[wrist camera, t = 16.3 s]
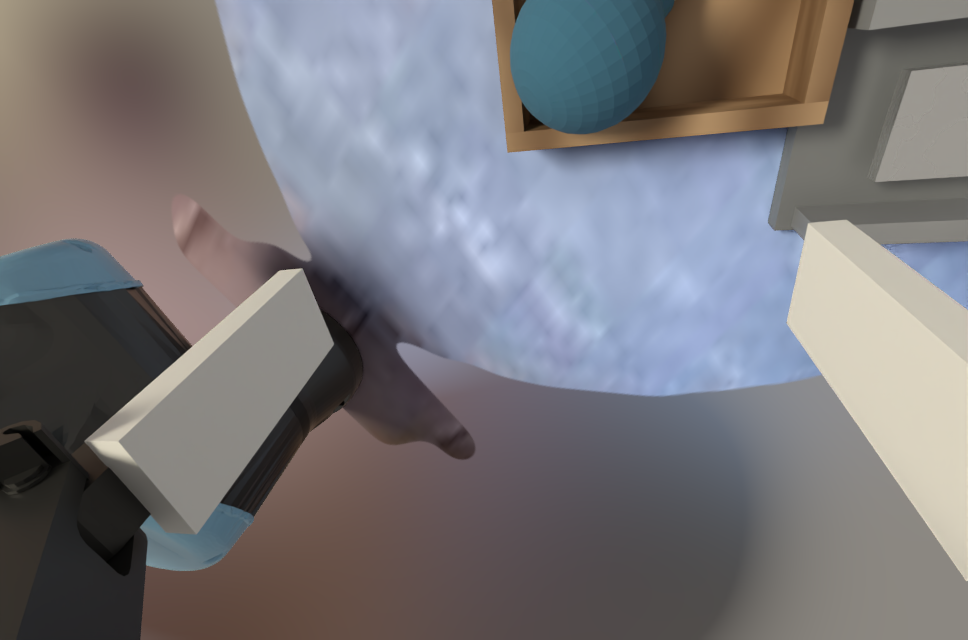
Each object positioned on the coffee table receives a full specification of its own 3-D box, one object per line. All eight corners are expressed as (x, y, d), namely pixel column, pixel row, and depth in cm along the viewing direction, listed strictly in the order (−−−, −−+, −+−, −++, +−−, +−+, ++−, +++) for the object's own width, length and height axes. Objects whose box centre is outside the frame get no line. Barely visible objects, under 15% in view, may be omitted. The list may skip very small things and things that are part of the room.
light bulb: (755, -141, 20) (548, 30, 19) (755, 47, 26) (597, 182, 25) (620, -115, 26) (458, 17, 25) (646, 34, 32) (516, 143, 31)
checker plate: (866, 177, 29) (874, 182, 28) (901, 69, 25) (911, 71, 25) (984, 169, 27) (996, 174, 26) (1037, 53, 24) (1052, 55, 23)
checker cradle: (767, 222, 34) (791, 251, 30) (816, -6, 27) (856, -8, 23) (999, 211, 31) (1060, 242, 27) (1130, -53, 23) (1242, -65, 19)
